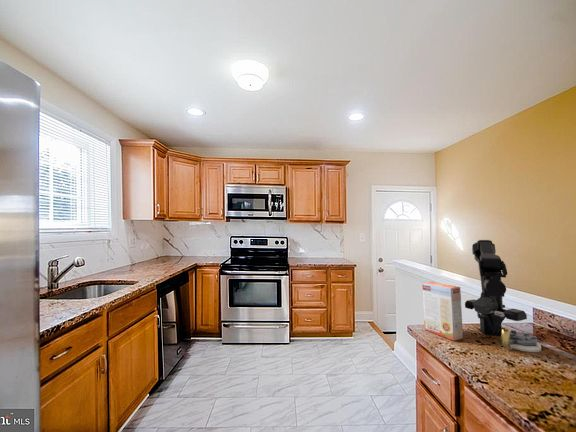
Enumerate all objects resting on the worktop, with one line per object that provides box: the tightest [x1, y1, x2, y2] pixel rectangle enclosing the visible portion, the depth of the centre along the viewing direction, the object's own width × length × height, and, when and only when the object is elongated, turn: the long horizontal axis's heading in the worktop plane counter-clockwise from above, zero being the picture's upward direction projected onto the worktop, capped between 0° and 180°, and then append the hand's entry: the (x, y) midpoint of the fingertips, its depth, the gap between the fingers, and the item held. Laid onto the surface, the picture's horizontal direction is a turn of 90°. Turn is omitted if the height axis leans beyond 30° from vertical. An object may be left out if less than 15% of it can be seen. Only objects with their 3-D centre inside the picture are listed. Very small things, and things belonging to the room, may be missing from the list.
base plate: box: [509, 341, 542, 353], centre depth 102 cm, size 11×11×2 cm
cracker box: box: [422, 281, 464, 342], centre depth 115 cm, size 14×6×21 cm, turn 22°
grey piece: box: [501, 327, 538, 348], centre depth 101 cm, size 15×9×6 cm, turn 112°
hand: (494, 332), depth 102 cm, fingers closed
